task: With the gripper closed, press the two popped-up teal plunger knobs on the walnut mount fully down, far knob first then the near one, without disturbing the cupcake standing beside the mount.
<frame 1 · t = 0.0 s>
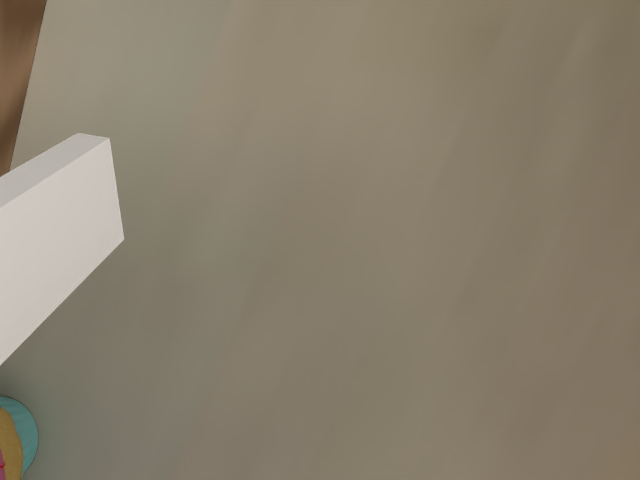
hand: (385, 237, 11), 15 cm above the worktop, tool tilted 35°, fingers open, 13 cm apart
cupcake: (2, 440, 27), on the worktop
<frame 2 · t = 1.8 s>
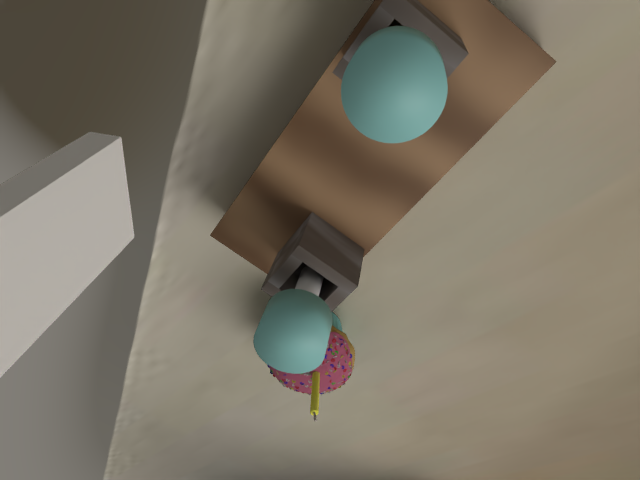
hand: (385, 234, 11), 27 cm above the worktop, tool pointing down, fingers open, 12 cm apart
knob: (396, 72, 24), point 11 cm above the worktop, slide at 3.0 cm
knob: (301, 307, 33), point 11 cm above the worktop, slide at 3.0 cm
cupcake: (318, 323, 49), on the worktop
mount: (360, 143, 38), on the worktop
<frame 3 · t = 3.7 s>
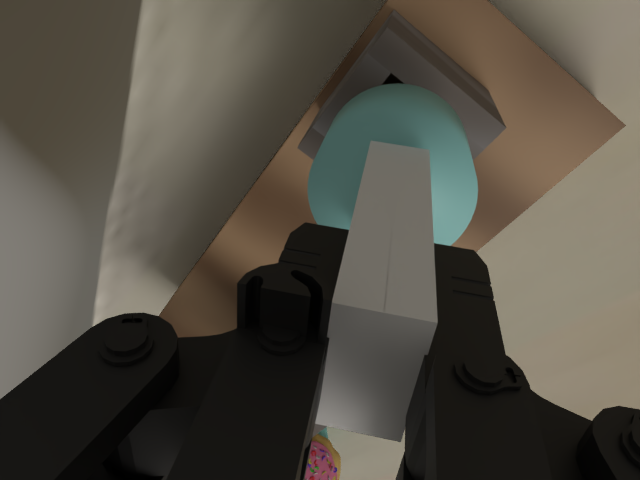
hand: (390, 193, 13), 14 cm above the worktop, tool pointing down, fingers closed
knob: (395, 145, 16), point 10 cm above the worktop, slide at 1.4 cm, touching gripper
cupcake: (297, 414, 40), on the worktop
mount: (347, 211, 29), on the worktop
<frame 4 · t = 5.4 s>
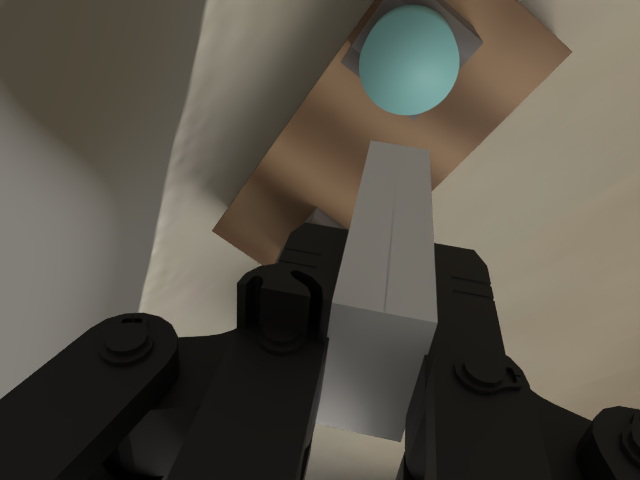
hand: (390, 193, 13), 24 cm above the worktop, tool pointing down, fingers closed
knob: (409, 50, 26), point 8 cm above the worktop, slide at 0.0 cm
mount: (367, 136, 37), on the worktop
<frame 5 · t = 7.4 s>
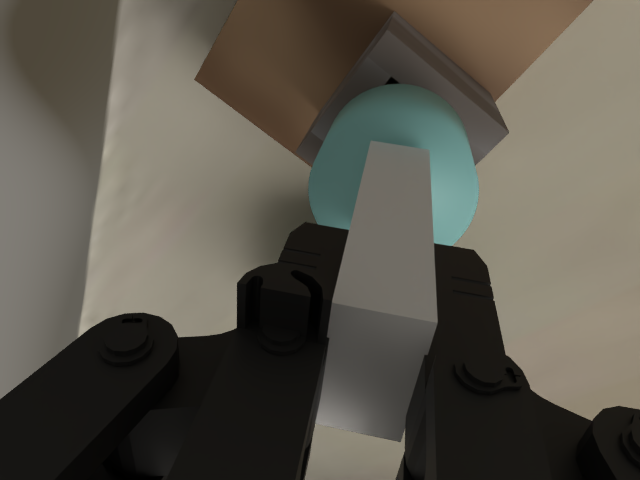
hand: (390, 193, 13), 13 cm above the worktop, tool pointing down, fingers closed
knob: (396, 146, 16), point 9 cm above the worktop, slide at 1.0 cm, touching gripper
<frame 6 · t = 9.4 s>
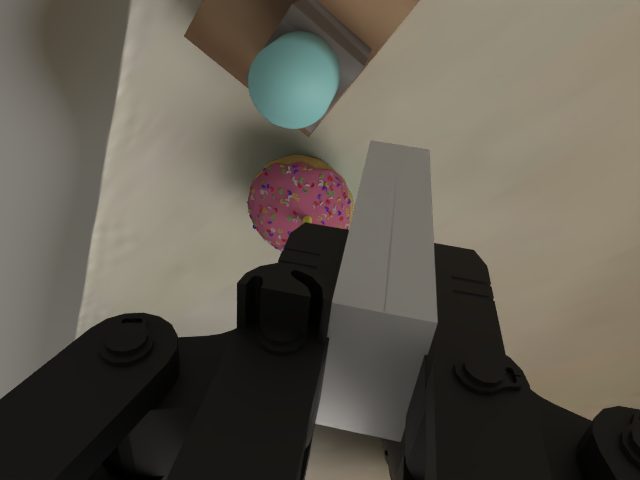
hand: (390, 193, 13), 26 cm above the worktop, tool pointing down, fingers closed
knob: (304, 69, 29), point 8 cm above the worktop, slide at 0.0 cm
cupcake: (311, 182, 42), on the worktop
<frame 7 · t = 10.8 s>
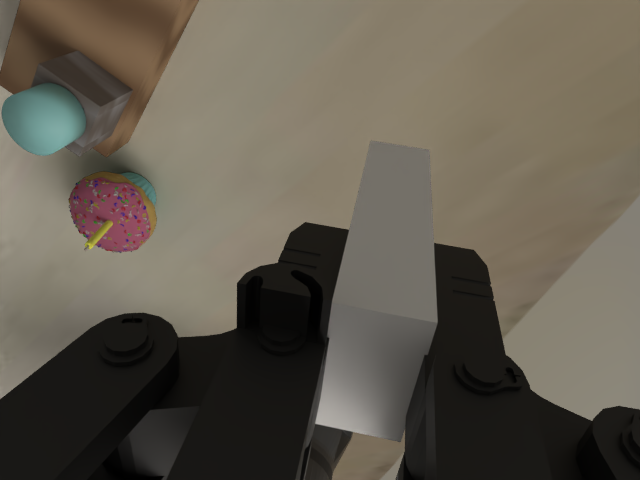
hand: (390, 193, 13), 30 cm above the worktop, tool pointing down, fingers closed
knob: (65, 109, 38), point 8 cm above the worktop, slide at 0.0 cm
cupcake: (136, 193, 52), on the worktop
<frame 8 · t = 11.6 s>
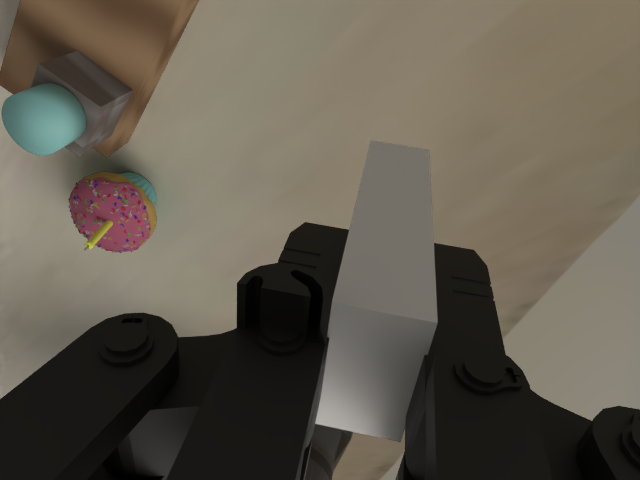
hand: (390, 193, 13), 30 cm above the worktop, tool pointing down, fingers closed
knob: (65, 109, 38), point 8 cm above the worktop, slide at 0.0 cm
cupcake: (136, 193, 52), on the worktop
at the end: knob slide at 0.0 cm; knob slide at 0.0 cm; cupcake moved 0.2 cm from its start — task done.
